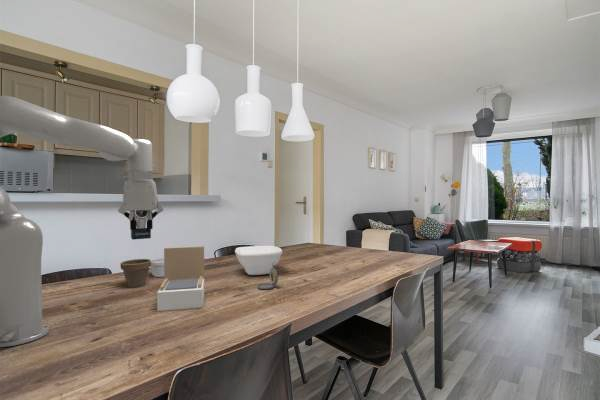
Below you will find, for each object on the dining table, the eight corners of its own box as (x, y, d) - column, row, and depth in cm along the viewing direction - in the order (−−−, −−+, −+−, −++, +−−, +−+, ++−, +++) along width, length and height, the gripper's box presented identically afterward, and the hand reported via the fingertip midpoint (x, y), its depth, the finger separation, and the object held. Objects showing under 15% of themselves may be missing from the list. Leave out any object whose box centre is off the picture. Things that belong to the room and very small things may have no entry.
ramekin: (166, 270, 165) (166, 256, 165) (186, 273, 159) (186, 258, 159) (143, 276, 153) (143, 261, 153) (164, 279, 147) (164, 263, 147)
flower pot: (113, 287, 133) (113, 263, 133) (135, 280, 144) (135, 258, 144) (136, 290, 130) (136, 264, 130) (157, 282, 141) (157, 259, 141)
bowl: (237, 281, 144) (237, 254, 144) (233, 270, 165) (233, 246, 165) (286, 277, 150) (286, 252, 150) (276, 267, 171) (276, 244, 171)
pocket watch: (254, 288, 132) (253, 263, 132) (265, 283, 139) (265, 260, 139) (271, 291, 128) (271, 265, 128) (282, 286, 135) (282, 262, 135)
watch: (133, 240, 105) (132, 206, 105) (130, 237, 112) (129, 204, 112) (152, 239, 108) (151, 205, 108) (148, 235, 115) (147, 204, 115)
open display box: (202, 307, 110) (202, 253, 110) (157, 311, 107) (156, 255, 106) (204, 293, 126) (204, 246, 125) (165, 296, 122) (164, 247, 122)
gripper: (109, 176, 104) (110, 234, 104) (165, 176, 108) (166, 232, 109) (116, 177, 111) (117, 231, 112) (168, 177, 116) (169, 229, 116)
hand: (141, 231), depth 110 cm, fingers closed on watch, 3 cm apart
